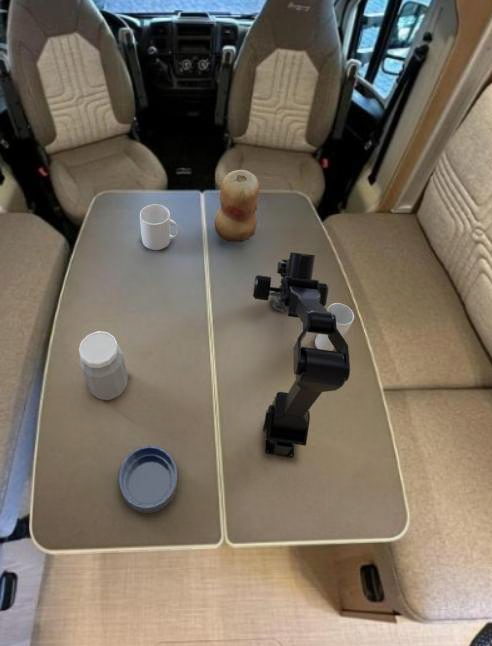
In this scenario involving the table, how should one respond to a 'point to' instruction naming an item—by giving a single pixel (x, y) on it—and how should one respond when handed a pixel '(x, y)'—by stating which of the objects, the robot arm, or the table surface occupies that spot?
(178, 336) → the table surface
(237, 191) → the butternut squash
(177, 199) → the table surface
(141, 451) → the bowl
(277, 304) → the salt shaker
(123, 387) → the jar
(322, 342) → the drinking glass
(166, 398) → the table surface
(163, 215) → the mug
